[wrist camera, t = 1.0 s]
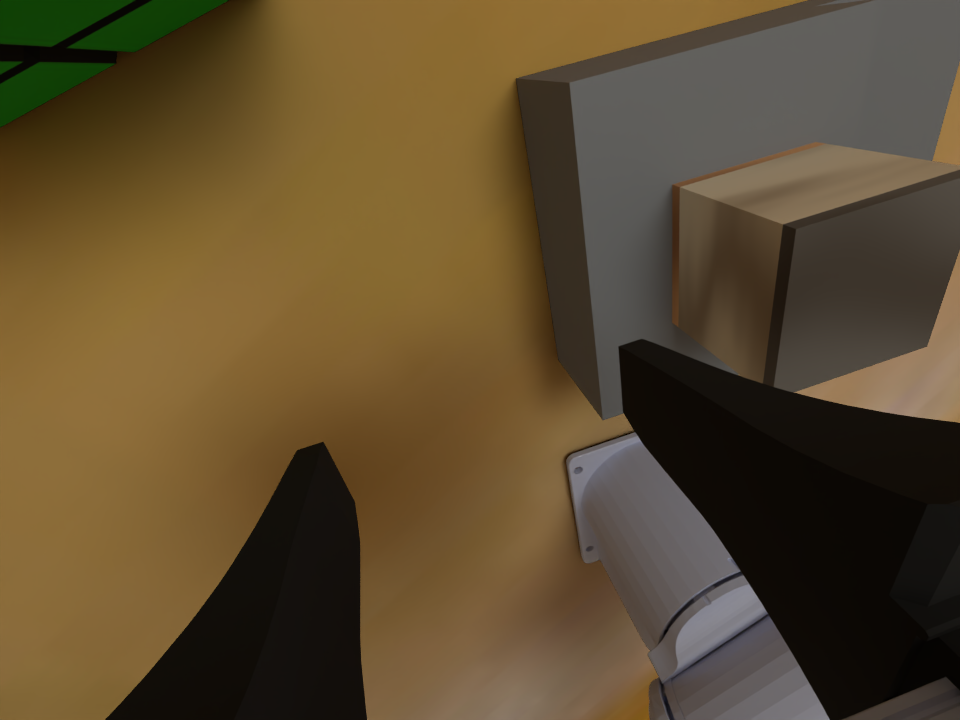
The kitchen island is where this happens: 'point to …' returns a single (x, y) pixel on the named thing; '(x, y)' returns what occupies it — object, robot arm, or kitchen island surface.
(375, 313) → the kitchen island surface
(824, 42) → the slate step stand
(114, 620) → the kitchen island surface
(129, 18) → the puzzle cube
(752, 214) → the maple cube
